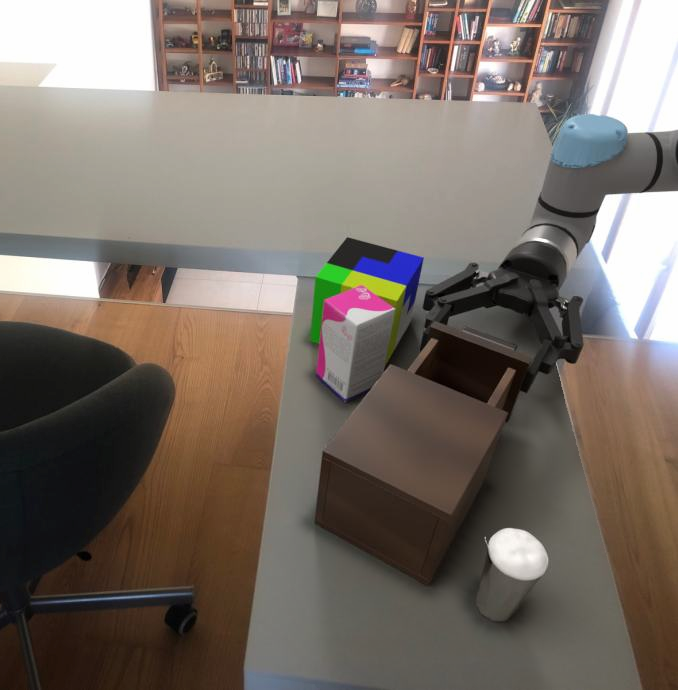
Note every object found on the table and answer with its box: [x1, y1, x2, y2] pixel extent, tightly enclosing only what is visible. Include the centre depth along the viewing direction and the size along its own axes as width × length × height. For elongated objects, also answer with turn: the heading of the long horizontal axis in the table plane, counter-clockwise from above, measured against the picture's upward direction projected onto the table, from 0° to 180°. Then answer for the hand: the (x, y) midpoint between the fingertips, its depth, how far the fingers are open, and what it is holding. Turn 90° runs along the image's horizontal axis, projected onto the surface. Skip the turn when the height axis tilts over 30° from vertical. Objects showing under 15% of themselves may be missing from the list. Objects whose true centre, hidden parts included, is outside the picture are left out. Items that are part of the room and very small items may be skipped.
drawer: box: [406, 321, 534, 424], centre depth 74 cm, size 17×11×9 cm, turn 144°
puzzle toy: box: [309, 236, 425, 366], centre depth 87 cm, size 10×10×10 cm
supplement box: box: [315, 285, 395, 403], centre depth 79 cm, size 6×6×12 cm
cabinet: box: [313, 363, 508, 586], centre depth 66 cm, size 14×12×11 cm
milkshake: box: [475, 527, 549, 622], centre depth 58 cm, size 5×5×10 cm
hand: (473, 362), depth 75 cm, fingers closed on drawer, 11 cm apart
